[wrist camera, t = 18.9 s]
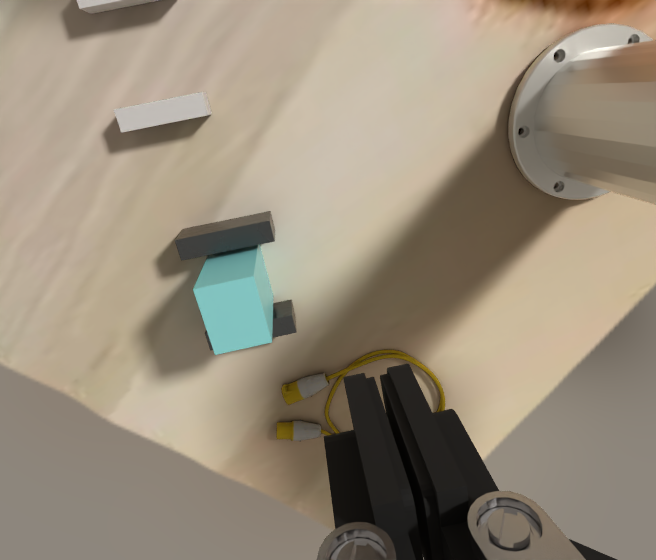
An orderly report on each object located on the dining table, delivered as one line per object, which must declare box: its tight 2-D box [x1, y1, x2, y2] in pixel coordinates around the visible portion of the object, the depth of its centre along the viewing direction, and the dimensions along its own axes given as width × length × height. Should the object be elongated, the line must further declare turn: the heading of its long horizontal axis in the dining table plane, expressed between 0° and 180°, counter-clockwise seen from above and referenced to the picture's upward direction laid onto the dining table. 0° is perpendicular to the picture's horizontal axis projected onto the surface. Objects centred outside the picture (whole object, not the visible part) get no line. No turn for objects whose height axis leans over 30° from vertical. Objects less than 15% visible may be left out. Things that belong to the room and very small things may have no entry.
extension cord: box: [277, 350, 445, 441], centre depth 44 cm, size 12×16×2 cm
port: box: [175, 211, 296, 350], centre depth 37 cm, size 7×9×3 cm
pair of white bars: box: [77, 0, 212, 133], centre depth 31 cm, size 6×9×2 cm, turn 11°
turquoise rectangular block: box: [193, 244, 273, 355], centre depth 35 cm, size 4×5×8 cm
